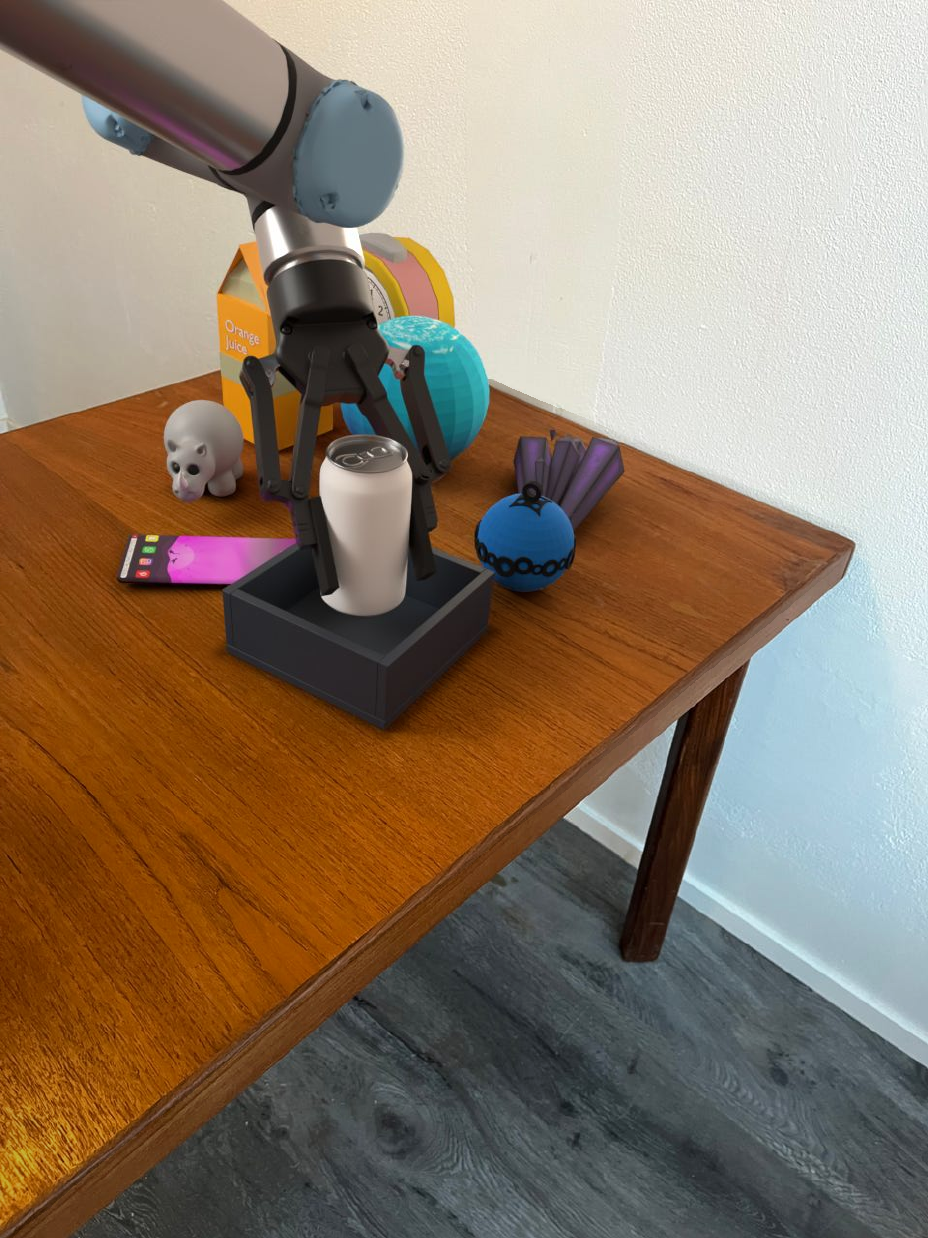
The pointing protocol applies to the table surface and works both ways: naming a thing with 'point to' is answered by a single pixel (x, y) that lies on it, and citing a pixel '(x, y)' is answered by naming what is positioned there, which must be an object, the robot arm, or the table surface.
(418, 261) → the alarm clock
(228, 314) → the orange juice
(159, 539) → the smartphone
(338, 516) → the can
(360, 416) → the decorative orb
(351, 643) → the tray
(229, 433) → the chubby cartoon animal
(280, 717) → the table surface
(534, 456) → the crystal
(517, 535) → the ornament
